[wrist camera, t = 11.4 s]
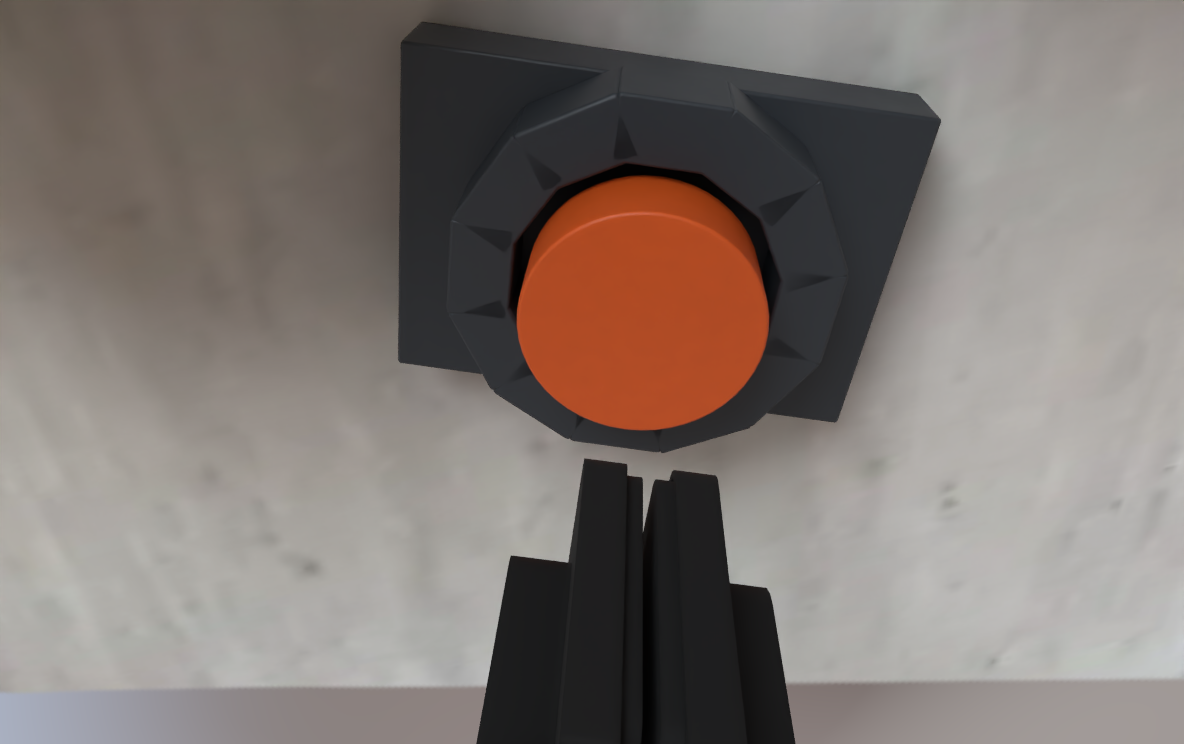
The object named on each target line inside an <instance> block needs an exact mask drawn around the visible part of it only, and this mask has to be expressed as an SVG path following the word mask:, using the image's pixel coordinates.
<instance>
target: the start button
mask: <svg viewBox="0 0 1184 744" xmlns="http://www.w3.org/2000/svg"><path fill="white" fill-rule="evenodd" d="M517 332H518V339H519V343H520V346H521V350H522V353H523V355H524V358H525V360H526V362H527V364H528V366H529V368H530V370H531V371H532V373H533V375H534V376H535V378H536V379H537V380H538V382H539V383H540V384H541V385H542V387H543V388H544V389H545V390H546V391H547V392H548V393H549V394H550V395H551V396H552V397H553V398H554V399H555V400H557V401H558V402H559V403H561V404H562V405H563V406H565V407H566V408H567V409H569V410H571V411H573V412H574V413H576V414H578V415H580V416H582V417H584V418H586V419H589V420H591V421H593V422H596V423H599V424H603V425H606V426H610V427H615V428H620V429H627V430H659V429H666V428H672V427H676V426H680V425H684V424H687V423H690V422H692V421H695V420H698V419H700V418H702V417H704V416H706V415H708V414H710V413H712V412H714V411H715V410H717V409H718V408H720V407H721V406H723V405H724V404H726V403H727V402H728V401H729V400H730V399H732V398H733V397H734V396H735V395H736V394H737V393H738V392H739V391H740V390H741V389H742V388H743V387H744V386H745V384H746V383H747V382H748V380H749V379H750V377H751V376H752V375H753V373H754V372H755V370H756V368H757V366H758V364H759V362H760V360H761V358H762V355H763V352H764V350H765V347H766V342H767V337H768V332H769V310H768V302H767V297H766V293H765V289H764V284H763V280H762V276H761V271H760V267H759V263H758V259H757V255H756V251H755V248H754V245H753V243H752V241H751V238H750V236H749V234H748V232H747V231H746V229H745V228H744V226H743V224H742V223H741V221H740V220H739V219H738V218H737V217H736V216H735V214H734V213H733V212H732V211H731V210H730V209H729V208H728V207H727V206H726V205H725V204H723V203H722V202H721V201H720V200H719V199H717V198H716V197H714V196H713V195H711V194H710V193H708V192H706V191H704V190H702V189H700V188H698V187H696V186H694V185H692V184H689V183H686V182H683V181H681V180H677V179H673V178H668V177H663V176H652V175H636V176H626V177H620V178H614V179H611V180H607V181H604V182H601V183H598V184H596V185H593V186H591V187H589V188H587V189H585V190H583V191H581V192H580V193H578V194H576V195H575V196H573V197H572V198H570V199H569V200H568V201H567V202H565V203H564V204H563V205H562V206H560V207H559V208H558V209H557V210H556V212H555V213H554V214H553V215H552V216H551V217H550V218H549V219H548V221H547V222H546V224H545V225H544V227H543V228H542V229H541V231H540V233H539V235H538V237H537V239H536V241H535V243H534V246H533V249H532V252H531V255H530V258H529V262H528V266H527V270H526V273H525V277H524V281H523V285H522V289H521V292H520V296H519V302H518V307H517Z"/></svg>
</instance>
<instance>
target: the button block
mask: <svg viewBox="0 0 1184 744" xmlns="http://www.w3.org/2000/svg"><path fill="white" fill-rule="evenodd" d="M940 123H941V119H940V118H939V117H938V116H937V115H936V114H935V112H934V111H933V110H932V109H931V108H930V107H929V106H928V105H927V104H926V102H925V101H924V100H923V99H922V98H921V97H920V96H919V95H918V94H913V93H906V92H899V91H892V90H885V89H879V88H872V87H865V86H858V85H851V84H844V83H837V82H831V81H824V80H817V79H810V78H803V77H796V76H790V75H783V74H776V73H769V72H762V71H755V70H748V69H742V68H735V67H728V66H721V65H714V64H707V63H700V62H694V61H687V60H680V59H673V58H666V57H659V56H652V55H646V54H639V53H632V52H625V51H618V50H611V49H605V48H598V47H591V46H584V45H577V44H570V43H563V42H557V41H550V40H543V39H536V38H529V37H522V36H515V35H509V34H502V33H495V32H488V31H481V30H474V29H467V28H461V27H454V26H447V25H440V24H433V23H426V22H422V23H420V24H419V25H418V26H417V27H416V28H415V29H414V30H413V31H412V32H411V33H410V34H409V35H408V36H407V37H406V38H405V39H404V40H403V41H402V43H401V98H400V213H399V328H398V360H399V362H400V363H406V364H413V365H421V366H428V367H435V368H442V369H450V370H457V371H464V372H471V373H479V374H483V376H484V378H485V379H486V381H487V383H488V385H489V387H490V388H491V389H492V390H494V392H495V393H496V394H497V395H499V396H500V397H502V398H503V399H505V400H507V401H508V402H510V403H511V404H513V405H514V406H516V407H518V408H519V409H521V410H522V411H524V412H525V413H527V414H529V415H530V416H532V417H533V418H535V419H536V420H538V421H540V422H541V423H543V424H544V425H546V426H547V427H549V428H551V429H552V430H554V431H555V432H557V433H558V434H560V435H562V436H563V437H565V438H567V439H569V438H570V439H571V440H573V441H578V442H585V443H593V444H600V445H608V446H615V447H622V448H630V449H637V450H644V451H652V452H661V453H665V452H669V451H672V450H675V449H679V448H682V447H686V446H689V445H693V444H696V443H700V442H703V441H706V440H710V439H713V438H717V437H720V436H724V435H727V434H731V433H734V432H737V431H741V430H744V429H748V428H750V426H753V425H754V424H755V423H756V422H757V421H759V420H760V419H761V418H762V417H763V416H764V415H765V414H766V413H770V414H777V415H784V416H792V417H799V418H806V419H813V420H821V421H828V422H837V420H838V418H839V415H840V412H841V409H842V406H843V403H844V400H845V397H846V395H847V392H848V389H849V386H850V383H851V380H852V377H853V374H854V371H855V369H856V366H857V363H858V360H859V357H860V354H861V351H862V348H863V345H864V343H865V340H866V337H867V334H868V331H869V328H870V325H871V322H872V320H873V317H874V314H875V311H876V308H877V305H878V302H879V299H880V296H881V294H882V291H883V288H884V285H885V282H886V279H887V276H888V273H889V270H890V268H891V265H892V262H893V259H894V256H895V253H896V250H897V247H898V244H899V242H900V239H901V236H902V233H903V230H904V227H905V224H906V221H907V219H908V216H909V213H910V210H911V207H912V204H913V201H914V198H915V195H916V193H917V190H918V187H919V184H920V181H921V178H922V175H923V172H924V169H925V167H926V164H927V161H928V158H929V155H930V152H931V149H932V146H933V143H934V141H935V138H936V135H937V132H938V129H939V126H940ZM636 175H652V176H663V177H668V178H673V179H677V180H681V181H683V182H686V183H689V184H692V185H694V186H696V187H698V188H700V189H702V190H704V191H706V192H708V193H710V194H711V195H713V196H714V197H716V198H717V199H719V200H720V201H721V202H722V203H723V204H725V205H726V206H727V207H728V208H729V209H730V210H731V211H732V212H733V213H734V214H735V216H736V217H737V218H738V219H739V220H740V221H741V223H742V224H743V226H744V228H745V229H746V231H747V232H748V234H749V236H750V238H751V241H752V243H753V245H754V248H755V251H756V255H757V259H758V263H759V267H760V271H761V276H762V280H763V284H764V289H765V293H766V297H767V302H768V310H769V332H768V337H767V342H766V347H765V350H764V352H763V355H762V358H761V360H760V362H759V364H758V366H757V368H756V370H755V372H754V373H753V375H752V376H751V377H750V379H749V380H748V382H747V383H746V384H745V386H744V387H743V388H742V389H741V390H740V391H739V392H738V393H737V394H736V395H735V396H734V397H733V398H732V399H730V400H729V401H728V402H727V403H726V404H724V405H723V406H721V407H720V408H718V409H717V410H715V411H714V412H712V413H710V414H708V415H706V416H704V417H702V418H700V419H698V420H695V421H692V422H690V423H687V424H684V425H680V426H676V427H672V428H666V429H659V430H627V429H620V428H615V427H610V426H606V425H603V424H599V423H596V422H593V421H591V420H589V419H586V418H584V417H582V416H580V415H578V414H576V413H574V412H573V411H571V410H569V409H567V408H566V407H565V406H563V405H562V404H561V403H559V402H558V401H557V400H555V399H554V398H553V397H552V396H551V395H550V394H549V393H548V392H547V391H546V390H545V389H544V388H543V387H542V385H541V384H540V383H539V382H538V380H537V379H536V378H535V376H534V375H533V373H532V371H531V370H530V368H529V366H528V364H527V362H526V360H525V358H524V355H523V353H522V350H521V346H520V343H519V339H518V332H517V307H518V302H519V296H520V292H521V289H522V285H523V281H524V277H525V273H526V270H527V266H528V262H529V258H530V255H531V252H532V249H533V246H534V243H535V241H536V239H537V237H538V235H539V233H540V231H541V229H542V228H543V227H544V225H545V224H546V222H547V221H548V219H549V218H550V217H551V216H552V215H553V214H554V213H555V212H556V210H557V209H558V208H559V207H560V206H562V205H563V204H564V203H565V202H567V201H568V200H569V199H570V198H572V197H573V196H575V195H576V194H578V193H580V192H581V191H583V190H585V189H587V188H589V187H591V186H593V185H596V184H598V183H601V182H604V181H607V180H611V179H614V178H620V177H626V176H636Z"/></svg>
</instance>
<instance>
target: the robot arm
mask: <svg viewBox="0 0 1184 744" xmlns="http://www.w3.org/2000/svg"><path fill="white" fill-rule="evenodd" d="M477 744H795V738H794V733H793V726H792V720H791V714H790V708H789V703H788V696H787V689H786V683H785V677H784V671H783V665H782V659H781V653H780V647H779V641H778V634H777V628H776V622H775V616H774V610H773V604H772V600H771V596H770V593H769V591H768V590H767V588H762V587H754V586H747V585H739V584H731V583H729V574H728V565H727V556H726V547H725V538H724V529H723V520H722V511H721V502H720V493H719V485H718V479H717V477H716V476H715V475H707V474H699V473H692V472H684V471H676V470H673V471H672V474H671V476H670V480H669V481H664V480H657V479H656V480H655V481H654V484H653V488H652V493H651V498H650V502H649V507H648V512H647V517H646V521H645V526H644V531H643V479H642V478H641V477H633V476H627V464H623V463H615V462H607V461H600V460H592V459H584V464H583V470H582V476H581V483H580V489H579V496H578V502H577V509H576V516H575V522H574V529H573V535H572V542H571V548H570V555H569V562H568V563H566V562H558V561H550V560H542V559H534V558H527V557H519V556H511V557H510V561H509V566H508V571H507V577H506V582H505V588H504V594H503V599H502V605H501V610H500V616H499V621H498V627H497V632H496V638H495V643H494V649H493V655H492V660H491V666H490V671H489V677H488V682H487V688H486V693H485V699H484V705H483V710H482V716H481V721H480V727H479V732H478V738H477Z"/></svg>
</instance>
